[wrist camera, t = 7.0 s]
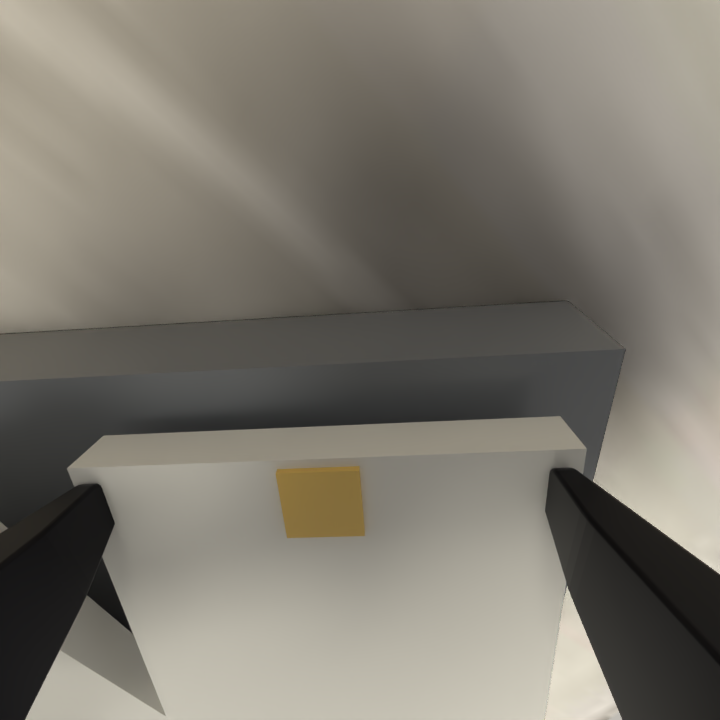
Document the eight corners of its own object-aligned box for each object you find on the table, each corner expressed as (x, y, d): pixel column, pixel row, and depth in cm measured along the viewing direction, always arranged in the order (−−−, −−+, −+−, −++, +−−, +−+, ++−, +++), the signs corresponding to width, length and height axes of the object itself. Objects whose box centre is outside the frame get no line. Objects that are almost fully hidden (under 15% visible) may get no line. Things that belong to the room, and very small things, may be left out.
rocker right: (519, 747, 13) (534, 805, 12) (212, 746, 14) (195, 801, 13) (560, 416, 9) (590, 453, 8) (103, 435, 9) (61, 472, 8)
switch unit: (514, 621, 18) (547, 736, 15) (-7, 628, 20) (-89, 733, 16) (567, 300, 12) (654, 372, 8) (-240, 348, 13) (-470, 426, 9)
